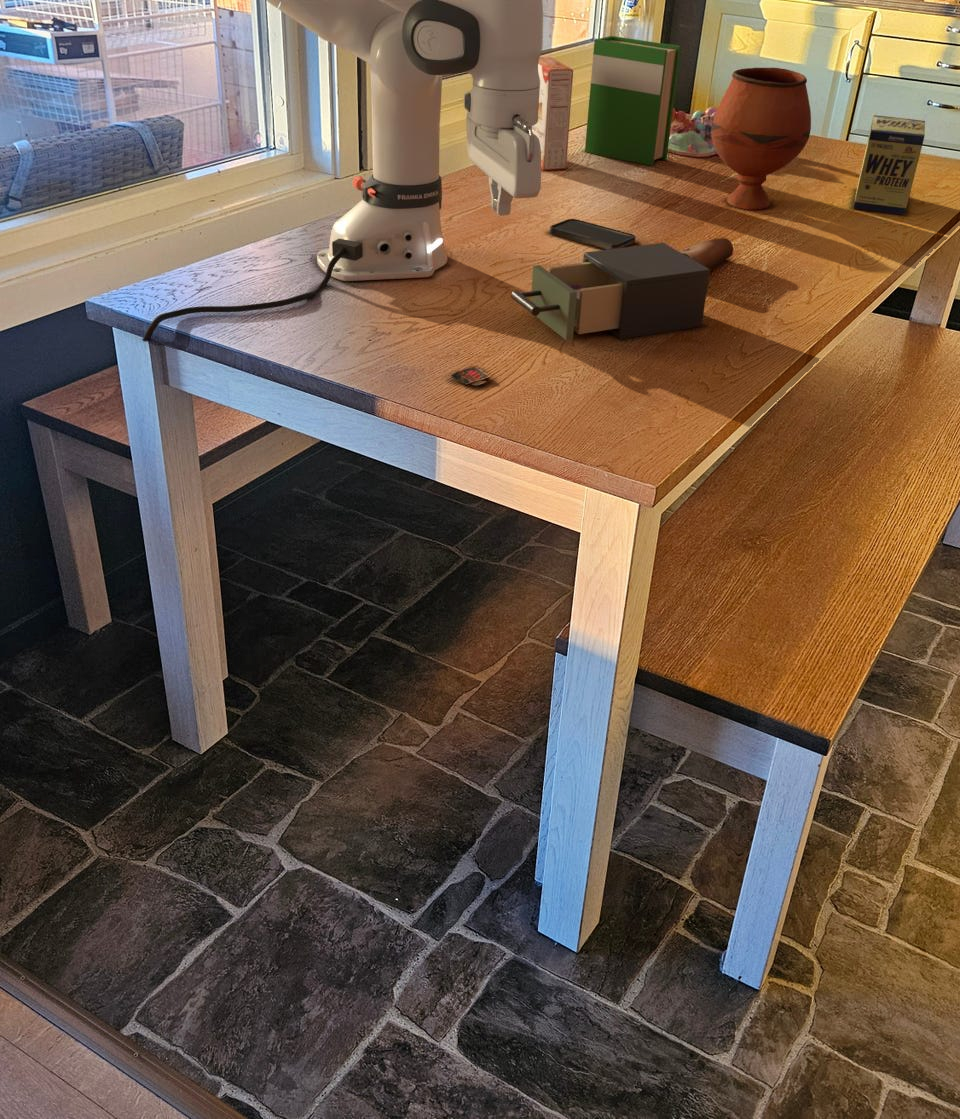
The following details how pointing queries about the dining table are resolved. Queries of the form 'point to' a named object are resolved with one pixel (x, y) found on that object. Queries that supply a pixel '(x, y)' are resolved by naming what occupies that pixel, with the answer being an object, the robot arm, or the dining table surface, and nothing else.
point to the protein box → (889, 164)
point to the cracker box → (553, 112)
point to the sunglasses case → (709, 252)
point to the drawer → (573, 298)
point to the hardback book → (631, 99)
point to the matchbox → (470, 376)
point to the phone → (592, 234)
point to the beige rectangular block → (577, 289)
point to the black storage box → (655, 288)
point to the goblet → (761, 128)
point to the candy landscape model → (692, 134)
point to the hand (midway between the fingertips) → (500, 212)
